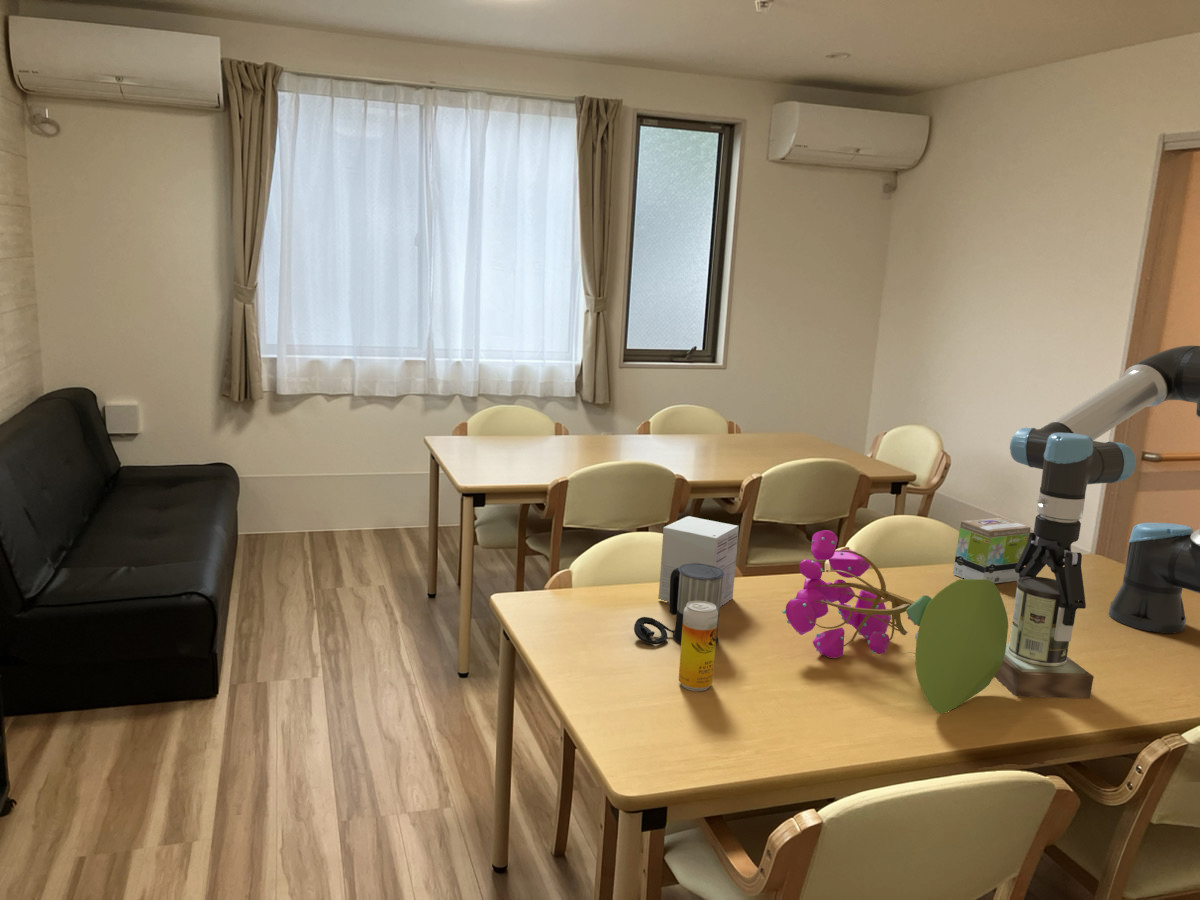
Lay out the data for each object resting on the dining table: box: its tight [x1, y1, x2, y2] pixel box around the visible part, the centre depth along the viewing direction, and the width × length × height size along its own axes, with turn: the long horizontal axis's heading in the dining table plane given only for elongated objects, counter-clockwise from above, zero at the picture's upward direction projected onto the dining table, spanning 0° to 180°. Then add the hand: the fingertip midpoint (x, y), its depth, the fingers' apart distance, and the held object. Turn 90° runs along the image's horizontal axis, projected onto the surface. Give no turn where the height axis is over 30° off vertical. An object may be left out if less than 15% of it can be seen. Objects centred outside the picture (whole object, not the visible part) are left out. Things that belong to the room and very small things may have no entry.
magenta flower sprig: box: [781, 529, 1009, 714], centre depth 174 cm, size 30×28×35 cm
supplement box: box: [657, 515, 740, 608], centre depth 205 cm, size 13×13×18 cm
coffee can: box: [1008, 576, 1070, 667], centre depth 171 cm, size 10×10×14 cm
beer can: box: [678, 601, 719, 692], centre depth 161 cm, size 6×6×15 cm
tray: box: [994, 642, 1095, 700], centre depth 172 cm, size 14×14×5 cm
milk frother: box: [633, 563, 725, 645], centre depth 181 cm, size 14×16×15 cm
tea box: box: [952, 517, 1032, 584], centre depth 233 cm, size 15×10×15 cm
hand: (1042, 626), depth 171 cm, fingers open, 13 cm apart
